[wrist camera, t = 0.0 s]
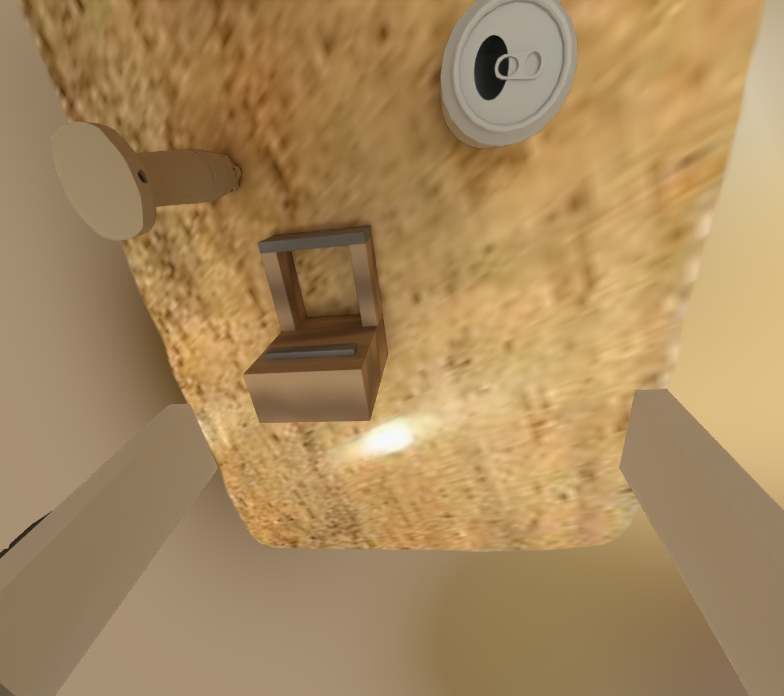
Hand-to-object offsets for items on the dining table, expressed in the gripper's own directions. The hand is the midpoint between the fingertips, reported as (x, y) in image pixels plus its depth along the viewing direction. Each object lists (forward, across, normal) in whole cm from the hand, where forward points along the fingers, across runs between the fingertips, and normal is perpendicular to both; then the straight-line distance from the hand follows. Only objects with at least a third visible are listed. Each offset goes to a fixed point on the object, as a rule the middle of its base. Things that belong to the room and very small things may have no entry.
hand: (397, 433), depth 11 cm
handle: (+28, -18, +8) cm, 35 cm away
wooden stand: (+28, -10, -6) cm, 30 cm away
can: (+28, +6, +11) cm, 31 cm away
